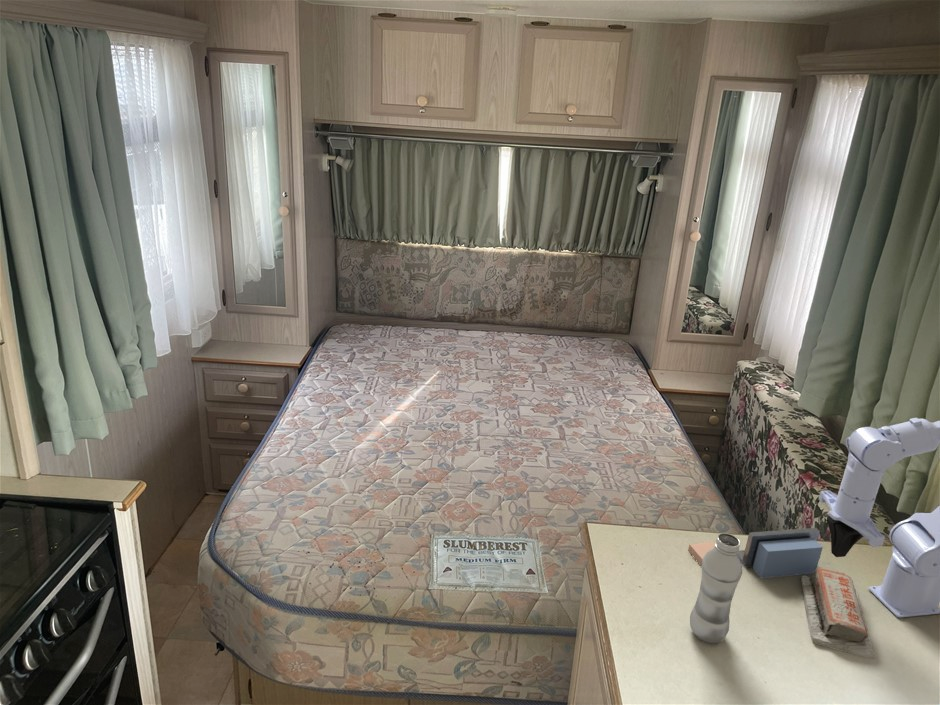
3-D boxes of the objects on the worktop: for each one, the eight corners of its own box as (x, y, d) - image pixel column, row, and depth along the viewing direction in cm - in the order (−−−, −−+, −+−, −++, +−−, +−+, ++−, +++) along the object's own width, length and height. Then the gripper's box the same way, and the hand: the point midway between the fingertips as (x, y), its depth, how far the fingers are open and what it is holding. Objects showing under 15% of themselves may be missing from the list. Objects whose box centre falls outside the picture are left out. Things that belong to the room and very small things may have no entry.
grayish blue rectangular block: (805, 564, 141) (813, 537, 138) (814, 573, 138) (822, 547, 135) (752, 568, 138) (759, 541, 136) (760, 578, 136) (768, 551, 133)
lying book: (721, 548, 144) (723, 540, 144) (735, 563, 140) (737, 555, 139) (687, 552, 142) (689, 544, 142) (700, 567, 138) (702, 559, 137)
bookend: (798, 548, 145) (806, 518, 142) (810, 561, 141) (819, 531, 138) (733, 553, 142) (741, 523, 139) (744, 567, 138) (752, 536, 136)
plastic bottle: (701, 651, 117) (724, 555, 109) (680, 622, 123) (700, 529, 115) (734, 645, 118) (758, 550, 111) (711, 617, 124) (733, 525, 117)
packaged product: (804, 560, 134) (860, 573, 132) (798, 580, 136) (854, 593, 133) (817, 623, 118) (881, 639, 116) (810, 645, 120) (873, 661, 117)
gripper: (812, 471, 129) (795, 532, 134) (866, 517, 115) (845, 582, 120) (845, 469, 130) (827, 529, 135) (903, 515, 117) (880, 579, 122)
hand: (838, 554), depth 128 cm, fingers closed
